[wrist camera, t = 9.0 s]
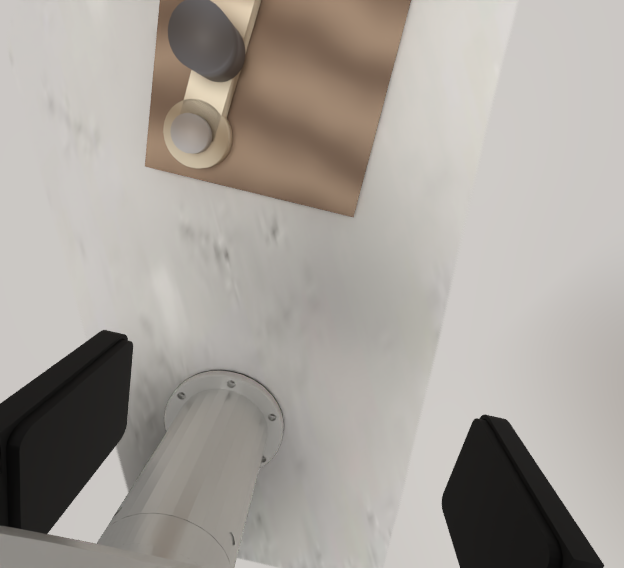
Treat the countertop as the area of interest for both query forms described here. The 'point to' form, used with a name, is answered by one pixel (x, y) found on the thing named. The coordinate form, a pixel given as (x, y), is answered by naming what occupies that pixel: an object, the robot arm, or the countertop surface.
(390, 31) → the board
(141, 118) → the countertop surface
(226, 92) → the link
